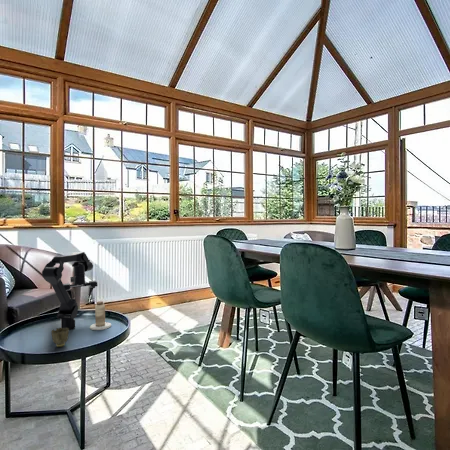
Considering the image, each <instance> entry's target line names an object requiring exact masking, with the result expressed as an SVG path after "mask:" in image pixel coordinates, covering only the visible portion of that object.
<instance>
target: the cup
mask: <svg viewBox="0 0 450 450" xmlns="http://www.w3.org/2000/svg"><path fill="white" fill-rule="evenodd" d="M69 332H70V330H69V328H67V327H66V328H61V326H60V327H59V328H57V327H56V329H51V337H52V341H53V343H54V344H55V345H56V348H63V347H65V346H66V345H65V344H66V343H67V341H68V339H69Z"/></svg>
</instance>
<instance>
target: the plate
mask: <svg viewBox="0 0 450 450" xmlns="http://www.w3.org/2000/svg"><path fill="white" fill-rule="evenodd" d="M111 327H112V323H111V322H106V321H105V325H104V326H101V327H97V326H96V322H95V323H93V324H91V325H89V329H90V330H92V331H103V330H107V329H109V328H111Z"/></svg>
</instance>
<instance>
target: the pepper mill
mask: <svg viewBox="0 0 450 450" xmlns="http://www.w3.org/2000/svg"><path fill="white" fill-rule="evenodd" d="M94 313H95V315H94V316H95V317H94V318H95V323H96V326H97V327H101V326H104V325H105V322H106V306H105V303H104V301H102V300H100V301H96V303H95V304H94Z"/></svg>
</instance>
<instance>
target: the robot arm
mask: <svg viewBox="0 0 450 450" xmlns="http://www.w3.org/2000/svg"><path fill="white" fill-rule="evenodd" d="M90 260H91V259H89V257H88V256H87V254H86V252H85V251H73V252H71V253H70V254H64V255H55V256H54V257H52V259H51V260H50V261H49V262H47V263H46V265H45V266H44V267H43V269H42V271H41V275H42V278H43V279H44V280H45V281H46V282H47V283H49V284H51V287H52V289H53V292H55V295H56V297H57V298H58V300H59V303H60V305H59V310H58V312H57V314H56V317H57V319H60V327H61V328H66V327H67V328H69V331H72V330H75V328H76V319H75V318H77V317H78V310H79V307H78V303H77V301H76V299H75V298H73V296H72V289H73V288H80V287H82V288H83V287H88V293H87V299H88V300H90V298H91V295H92V292H93V290H94V289H95V288H96V287H98V281H96V280H89V281H88V282H86V274H85V273H86V272H90V271H91V270H93V268H94V264H93V262H92V261H90ZM71 262H72V265H71V267H73V276H70V279H69V280H70V283H72V284H70V283H69V282H67V283H64V282H63V281H62V278H63V277H62V276H63V273H62V272H63V271H64V264H66V263H71ZM57 264H58V267H57V266H56V265H57ZM71 288H72V289H71Z"/></svg>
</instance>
